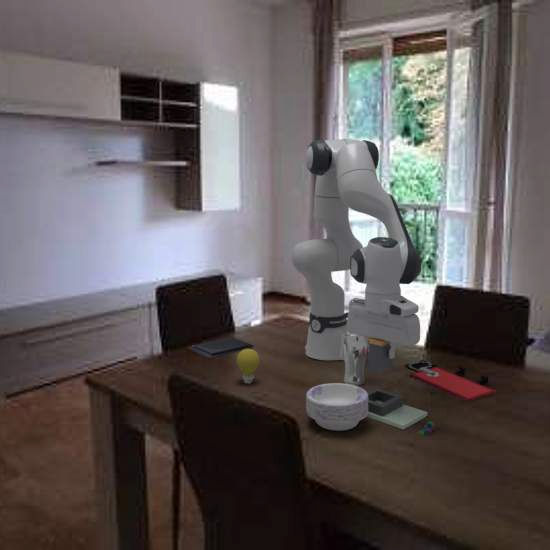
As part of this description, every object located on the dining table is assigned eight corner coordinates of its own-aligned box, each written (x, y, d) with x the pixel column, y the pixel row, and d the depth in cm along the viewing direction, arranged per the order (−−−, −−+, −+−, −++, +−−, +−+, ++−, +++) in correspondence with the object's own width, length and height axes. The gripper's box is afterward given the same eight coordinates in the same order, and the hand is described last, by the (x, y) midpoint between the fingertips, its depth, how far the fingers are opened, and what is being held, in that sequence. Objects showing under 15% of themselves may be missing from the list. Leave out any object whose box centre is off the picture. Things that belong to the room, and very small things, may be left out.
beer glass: (339, 384, 174) (340, 334, 171) (345, 376, 180) (346, 328, 177) (363, 387, 171) (364, 336, 168) (368, 379, 178) (369, 330, 175)
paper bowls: (305, 410, 155) (305, 381, 154) (364, 411, 155) (364, 381, 153) (306, 436, 140) (306, 404, 139) (371, 437, 140) (372, 405, 139)
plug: (379, 364, 156) (380, 335, 155) (392, 368, 153) (393, 338, 152) (368, 369, 153) (369, 339, 151) (381, 373, 150) (382, 342, 148)
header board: (357, 392, 167) (357, 381, 166) (427, 416, 152) (428, 403, 151) (332, 404, 159) (332, 391, 158) (403, 429, 144) (404, 416, 143)
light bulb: (256, 386, 171) (256, 353, 170) (234, 385, 173) (233, 352, 171) (261, 378, 178) (261, 346, 176) (240, 377, 179) (239, 345, 177)
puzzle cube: (422, 428, 146) (423, 419, 145) (434, 431, 144) (434, 422, 144) (415, 434, 142) (416, 425, 142) (427, 437, 141) (427, 428, 140)
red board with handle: (427, 361, 194) (392, 370, 186) (427, 353, 193) (392, 362, 185) (505, 393, 168) (468, 404, 161) (506, 383, 168) (469, 394, 160)
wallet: (207, 355, 196) (185, 344, 208) (208, 360, 196) (185, 349, 208) (257, 344, 208) (233, 334, 219) (257, 349, 208) (233, 339, 220)
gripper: (342, 298, 155) (341, 350, 157) (410, 311, 141) (408, 367, 143) (356, 295, 159) (355, 345, 162) (424, 306, 145) (422, 361, 148)
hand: (381, 355), depth 152 cm, fingers closed on plug, 4 cm apart
